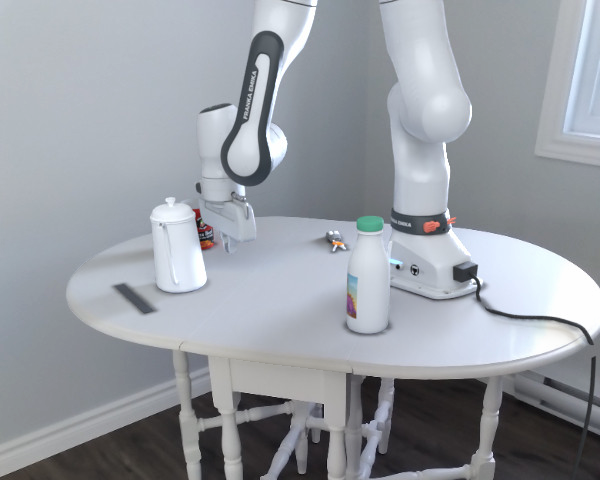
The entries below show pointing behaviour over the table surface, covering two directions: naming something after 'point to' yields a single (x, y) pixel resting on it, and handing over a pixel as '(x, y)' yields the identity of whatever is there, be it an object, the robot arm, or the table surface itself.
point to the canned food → (201, 225)
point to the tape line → (134, 298)
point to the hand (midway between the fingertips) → (230, 251)
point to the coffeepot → (176, 248)
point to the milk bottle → (368, 279)
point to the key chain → (335, 239)
